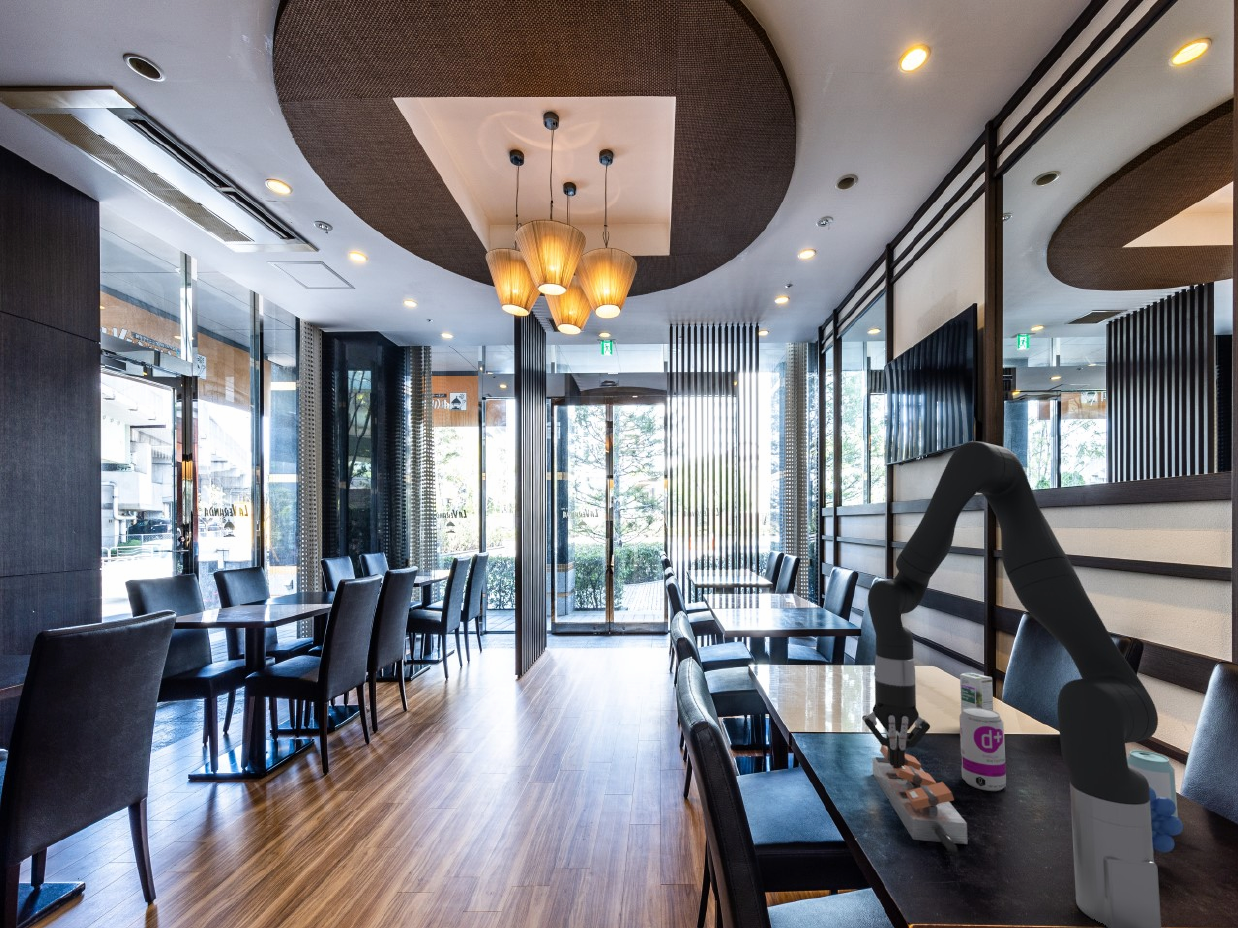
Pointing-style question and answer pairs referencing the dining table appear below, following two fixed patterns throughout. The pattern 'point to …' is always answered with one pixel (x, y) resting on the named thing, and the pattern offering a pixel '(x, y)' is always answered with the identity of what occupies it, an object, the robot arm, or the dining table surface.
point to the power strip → (921, 810)
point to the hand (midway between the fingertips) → (896, 766)
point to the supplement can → (982, 749)
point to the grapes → (1163, 822)
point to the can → (1155, 773)
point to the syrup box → (976, 691)
